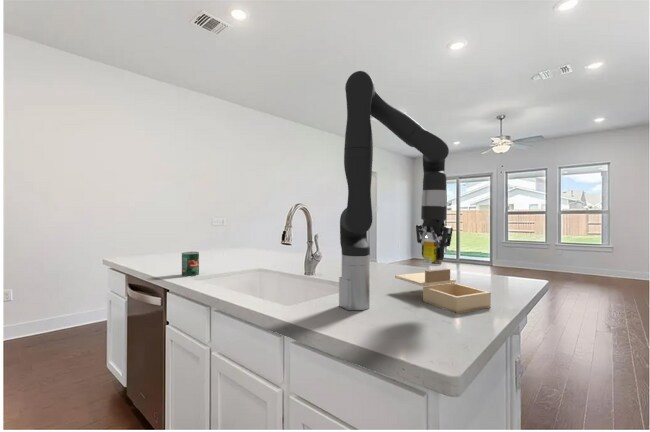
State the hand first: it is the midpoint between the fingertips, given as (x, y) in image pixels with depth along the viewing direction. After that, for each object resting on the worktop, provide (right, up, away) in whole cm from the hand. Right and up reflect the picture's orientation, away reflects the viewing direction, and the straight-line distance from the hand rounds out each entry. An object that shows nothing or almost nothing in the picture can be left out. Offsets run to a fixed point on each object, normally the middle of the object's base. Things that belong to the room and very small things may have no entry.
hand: (432, 258), depth 103 cm
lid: (+4, -11, +21) cm, 24 cm away
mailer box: (+10, -16, +7) cm, 21 cm away
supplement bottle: (0, -2, 0) cm, 2 cm away
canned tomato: (-100, -16, +57) cm, 116 cm away
